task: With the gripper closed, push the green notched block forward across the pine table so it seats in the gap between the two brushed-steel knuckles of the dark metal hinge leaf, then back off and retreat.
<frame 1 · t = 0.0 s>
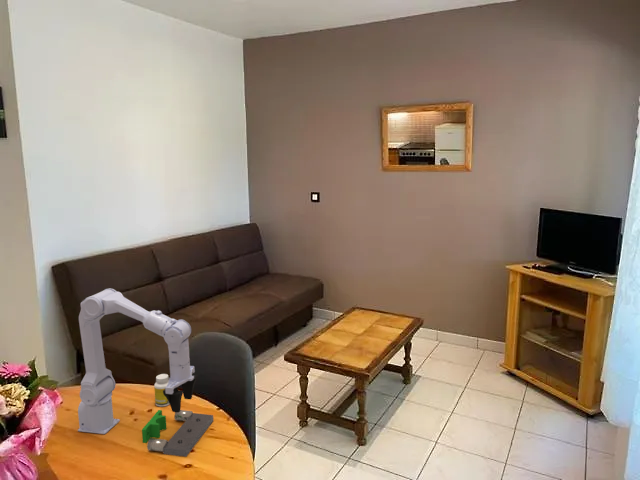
hand: (182, 405, 147), 10 cm above the table, tool pointing down, fingers open, 7 cm apart
supplement bottle: (163, 403, 169), on the table
green notched block: (156, 433, 151), on the table
fixed leaf: (181, 435, 149), on the table
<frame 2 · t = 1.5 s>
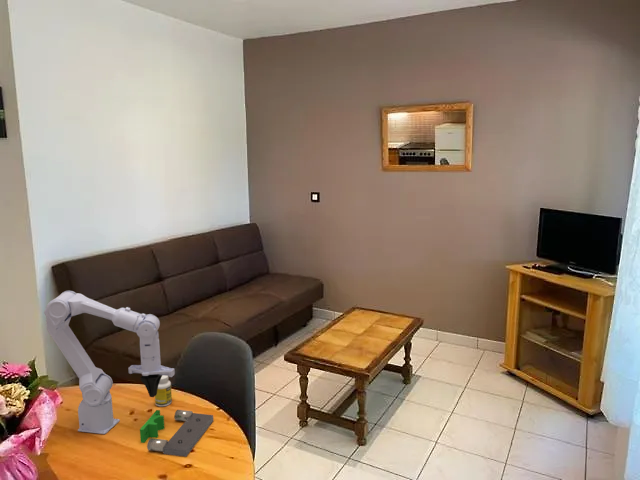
hand: (153, 395, 155), 9 cm above the table, tool pointing down, fingers closed
nothing on the table moved.
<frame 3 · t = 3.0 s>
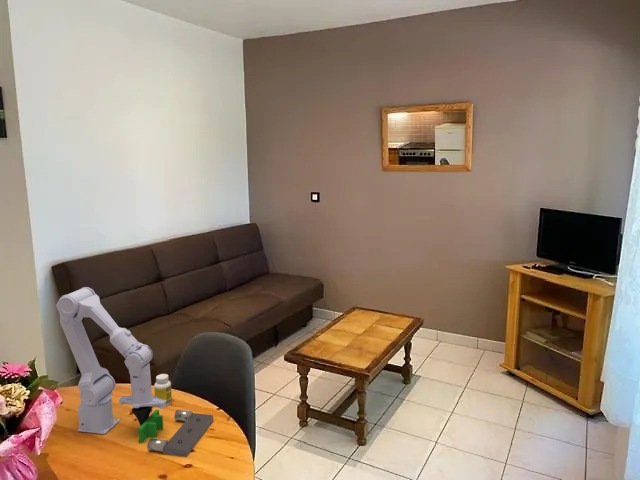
hand: (144, 427, 151), 1 cm above the table, tool pointing down, fingers closed, pressing on green notched block
green notched block: (153, 433, 151), on the table, touching gripper
everything else where it was.
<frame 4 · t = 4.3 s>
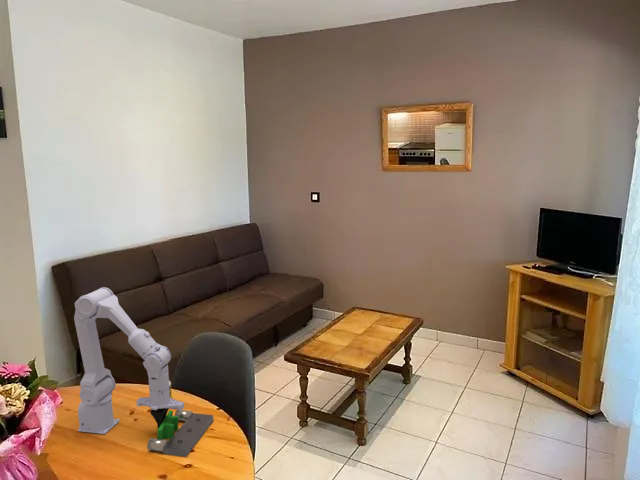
hand: (161, 429, 150), 1 cm above the table, tool pointing down, fingers closed, pressing on green notched block
green notched block: (168, 434, 150), on the table, touching gripper
everything else where it was.
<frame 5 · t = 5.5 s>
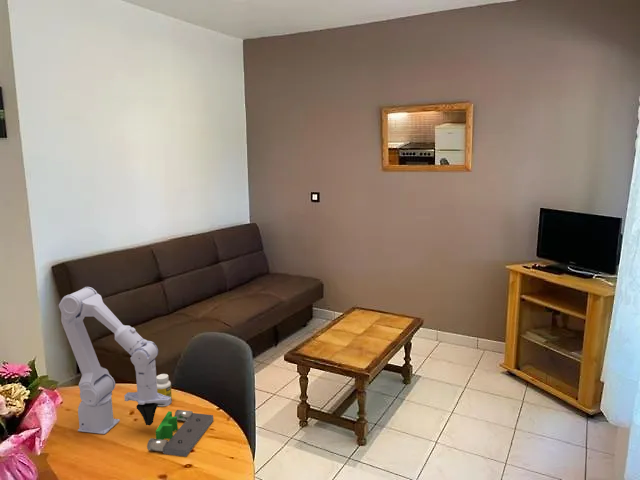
hand: (149, 423, 151), 2 cm above the table, tool pointing down, fingers closed
green notched block: (168, 435, 150), on the table
everything else where it was.
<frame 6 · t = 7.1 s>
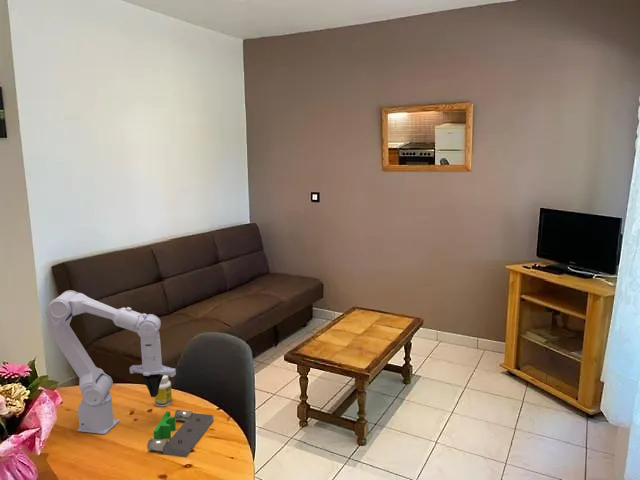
hand: (154, 395, 154), 9 cm above the table, tool pointing down, fingers closed
nothing on the table moved.
at the end: green notched block 1.5 cm from the target spot on the fixed leaf, point 0.0 cm above the fixed leaf's base; green notched block moved 3.2 cm from its start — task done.
